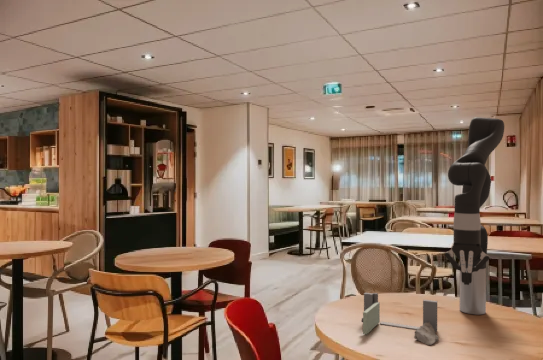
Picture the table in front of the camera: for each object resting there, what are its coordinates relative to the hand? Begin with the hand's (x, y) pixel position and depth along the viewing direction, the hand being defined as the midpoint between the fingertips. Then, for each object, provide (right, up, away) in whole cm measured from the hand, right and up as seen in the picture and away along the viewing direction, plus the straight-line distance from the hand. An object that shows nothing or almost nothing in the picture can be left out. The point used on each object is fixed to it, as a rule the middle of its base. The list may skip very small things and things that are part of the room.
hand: (466, 284), depth 129 cm
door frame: (-15, -19, +17) cm, 29 cm away
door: (-26, -18, +14) cm, 35 cm away
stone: (-10, -19, +6) cm, 23 cm away
